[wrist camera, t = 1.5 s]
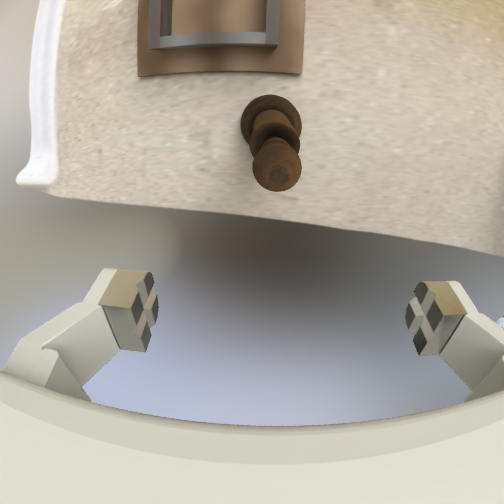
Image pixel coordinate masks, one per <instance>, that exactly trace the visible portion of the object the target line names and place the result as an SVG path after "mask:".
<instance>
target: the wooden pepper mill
mask: <svg viewBox="0 0 504 504" xmlns="http://www.w3.org/2000/svg"><path fill="white" fill-rule="evenodd" d="M301 128H302V124H301V118H300V115H299V113H298V111H297V110H296V108H295V107H294V106H293V105H292V104H291V103H290V102H289V101H288V100H286V99H285V98H283V97H280V96H276V95H264V96H260V97H258V98H256V99H254V100H252V101H251V102H250V103H249V104H248V105H247V107H246V108H245V110H244V112H243V115H242V118H241V131H242V134H243V137H244V139H245V140H246V142H247V143H248V144H249V145H250V151H251V154H252V156H253V157H254V161H253V173H254V176H255V179H256V180H257V182H258V183H259V184H260V185H261V186H262V187H264V188H265V189H268V190H270V191H276V192H279V191H285V190H288V189H290V188H291V187H293V186H294V185H295V184H296V183H297V181H298V179H299V177H300V175H301V169H302V166H301V160H300V158H299V156H298V153H299V149H300V140H299V137H300V134H301Z"/></svg>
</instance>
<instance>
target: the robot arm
mask: <svg viewBox="0 0 504 504" xmlns="http://www.w3.org/2000/svg"><path fill="white" fill-rule="evenodd" d="M153 284H154V280H153V276H152V273H150V272H147V271H136V270H125V269H112V268H105V269H103V270H102V271H101V273H100V274H99V276H98V277H97V279H96V280H95V282H94V284H93V285H92V287H91V289H90V290H89V292H88V293H87V295H86V297H85V298H84V300H83V302H82V303H76V304H75V305H73V306H71V307H70V308H68V309H67V310H65V311H63V312H62V313H60V314H59V315H57V316H56V317H54V318H53V319H51V320H49V321H48V322H46V323H45V324H43V325H42V326H40V327H39V328H37V329H35V330H34V331H32V332H31V333H29V334H28V335H26V336H25V337H23V338H22V339H20V341H19V343H18V344H17V346H16V348H15V350H14V351H13V353H12V355H11V357H10V358H9V361H8V362H7V364H6V366H5V368H4V370H3V371H0V504H504V329H503V328H501V327H500V326H499V325H497V324H496V323H495V322H493V321H492V320H491V319H489V318H488V317H487V316H485V315H484V314H482V313H478V311H477V309H476V308H475V306H474V304H473V303H472V301H471V300H470V298H469V296H468V295H467V293H466V292H465V290H464V289H463V287H462V286H461V284H460V283H459V282H457V281H444V282H420V283H418V284H417V286H416V288H415V290H414V293H415V298H413V299H412V300H411V301H410V302H409V304H408V306H407V309H406V315H405V319H406V325H407V327H408V330H409V331H411V332H412V333H413V334H414V338H413V342H414V345H415V347H416V350H417V352H418V355H419V356H427V355H436V354H440V355H439V356H440V357H441V358H442V359H443V360H444V361H445V362H446V363H447V364H448V365H449V366H450V367H451V369H452V370H453V371H454V372H455V373H456V374H457V375H458V376H459V377H460V378H461V379H462V380H463V382H464V383H465V384H466V385H467V386H468V387H469V388H470V389H471V390H472V392H471V393H470V394H469V395H468V396H467V397H466V398H465V400H464V402H463V403H459V404H456V405H452V406H448V407H444V408H440V409H435V410H430V411H426V412H421V413H415V414H410V415H405V416H399V417H392V418H386V419H379V420H371V421H363V422H353V423H342V424H329V425H310V426H250V425H231V424H216V423H206V422H196V421H187V420H180V419H173V418H166V417H160V416H153V415H148V414H142V413H137V412H132V411H127V410H122V409H118V408H113V407H109V406H104V405H101V404H97V403H93V402H91V400H90V398H89V397H88V395H87V394H86V392H85V391H84V390H83V388H82V386H83V385H84V384H85V383H86V382H87V381H89V379H91V377H93V376H94V375H95V374H96V373H97V372H98V371H99V370H100V369H101V368H102V367H103V366H104V365H105V364H106V363H108V361H110V360H111V359H112V358H113V357H114V356H115V355H116V354H117V353H118V352H119V351H120V349H122V350H131V351H139V352H146V350H147V347H148V344H149V341H150V338H151V332H150V329H149V328H151V327H152V326H153V325H155V323H156V320H157V317H158V308H159V307H158V298H157V294H156V293H155V292H154V291H153V290H152V287H153Z"/></svg>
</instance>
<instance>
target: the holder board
mask: <svg viewBox="0 0 504 504" xmlns="http://www.w3.org/2000/svg"><path fill="white" fill-rule="evenodd" d="M304 23H305V0H139V7H138V77H140V76H148V75H157V74H167V73H180V72H196V71H268V72H284V73H297V74H302V65H303V46H304Z"/></svg>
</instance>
